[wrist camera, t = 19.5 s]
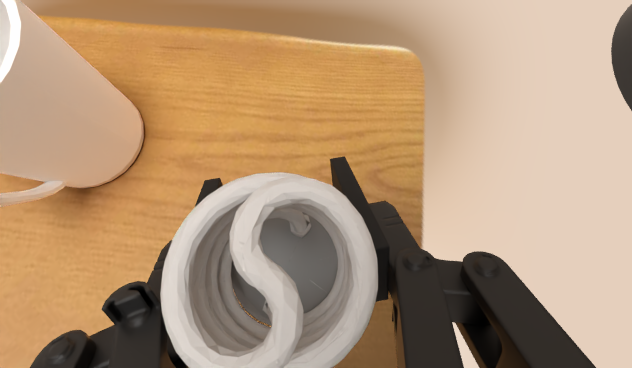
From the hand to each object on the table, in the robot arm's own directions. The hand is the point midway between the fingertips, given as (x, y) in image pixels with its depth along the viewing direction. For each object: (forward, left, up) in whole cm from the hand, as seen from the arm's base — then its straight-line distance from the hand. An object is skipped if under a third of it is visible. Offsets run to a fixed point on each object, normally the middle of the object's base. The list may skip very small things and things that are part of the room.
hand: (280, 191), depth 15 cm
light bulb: (0, +4, -4) cm, 5 cm away
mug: (+14, -8, -7) cm, 17 cm away
